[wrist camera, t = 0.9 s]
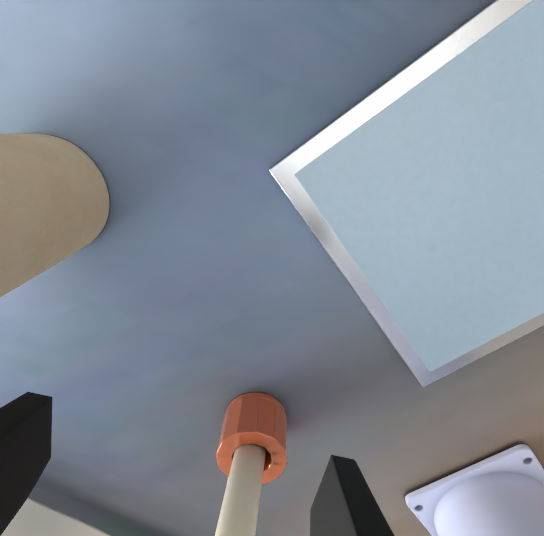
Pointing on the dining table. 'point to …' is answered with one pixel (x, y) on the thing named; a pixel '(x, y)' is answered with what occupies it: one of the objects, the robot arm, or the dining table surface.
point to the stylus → (242, 492)
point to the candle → (45, 204)
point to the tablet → (440, 193)
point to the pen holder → (255, 432)
